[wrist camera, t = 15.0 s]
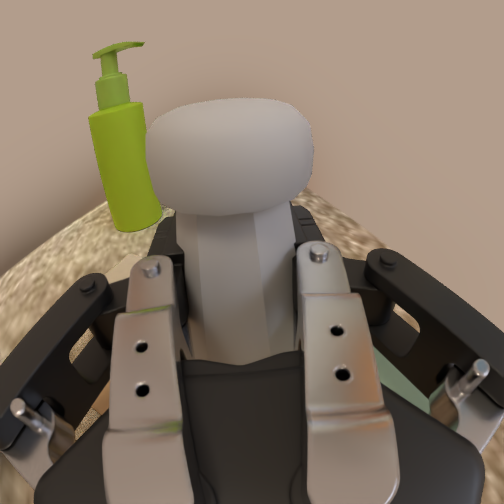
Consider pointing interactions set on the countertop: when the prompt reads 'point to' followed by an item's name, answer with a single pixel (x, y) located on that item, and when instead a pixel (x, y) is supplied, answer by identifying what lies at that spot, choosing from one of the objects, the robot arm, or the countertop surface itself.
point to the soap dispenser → (122, 147)
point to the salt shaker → (234, 218)
